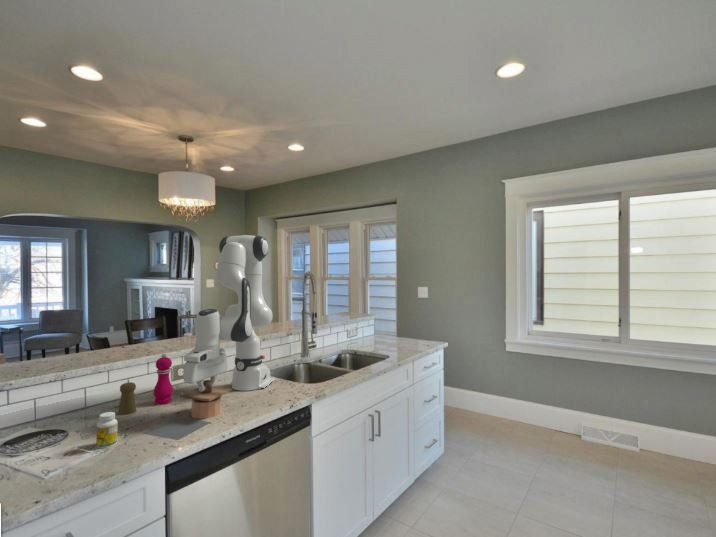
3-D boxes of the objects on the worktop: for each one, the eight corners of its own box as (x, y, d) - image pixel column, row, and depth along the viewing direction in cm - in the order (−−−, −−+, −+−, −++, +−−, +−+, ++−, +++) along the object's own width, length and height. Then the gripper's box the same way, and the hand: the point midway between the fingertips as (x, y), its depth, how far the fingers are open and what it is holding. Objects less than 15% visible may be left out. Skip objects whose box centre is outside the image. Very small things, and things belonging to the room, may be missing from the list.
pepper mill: (150, 402, 153) (151, 353, 154) (168, 398, 159) (169, 351, 159) (156, 406, 148) (157, 356, 149) (175, 402, 154) (176, 353, 154)
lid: (204, 387, 149) (204, 375, 149) (232, 390, 145) (232, 378, 145) (179, 397, 137) (180, 384, 137) (209, 401, 133) (209, 388, 133)
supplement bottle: (121, 443, 116) (121, 412, 116) (104, 450, 111) (104, 418, 111) (109, 440, 118) (110, 410, 118) (92, 447, 113) (92, 415, 113)
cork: (127, 415, 139) (128, 385, 139) (114, 414, 140) (114, 384, 140) (140, 409, 145) (140, 381, 145) (127, 408, 146) (127, 380, 146)
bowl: (204, 408, 147) (205, 392, 147) (226, 411, 144) (226, 395, 144) (185, 417, 137) (186, 401, 138) (208, 420, 134) (208, 404, 134)
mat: (177, 418, 137) (177, 416, 137) (210, 423, 132) (210, 422, 132) (142, 434, 123) (142, 433, 123) (178, 441, 118) (178, 439, 118)
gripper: (218, 346, 152) (218, 380, 152) (180, 357, 132) (179, 396, 132) (231, 348, 150) (231, 382, 150) (194, 358, 130) (194, 398, 130)
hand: (206, 389), depth 141 cm, fingers closed on lid, 3 cm apart
